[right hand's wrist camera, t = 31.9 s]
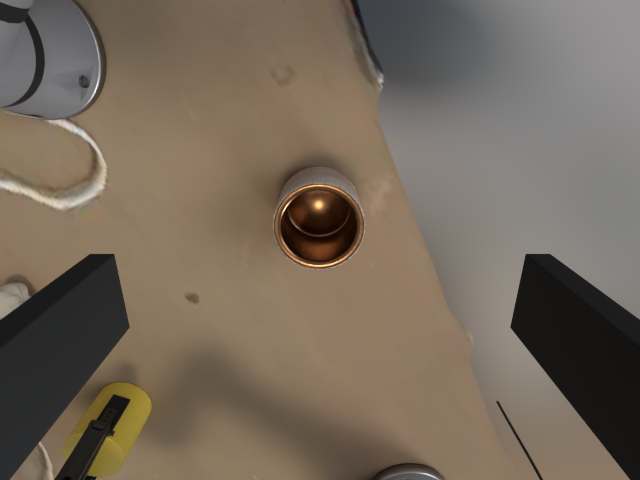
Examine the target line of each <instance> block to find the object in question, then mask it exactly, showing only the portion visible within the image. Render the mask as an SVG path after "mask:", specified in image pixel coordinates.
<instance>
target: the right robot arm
mask: <svg viewBox="0 0 640 480" xmlns="http://www.w3.org/2000/svg"><path fill="white" fill-rule="evenodd" d="M105 76H106V57H105V51H104V46H103V43H102V40H101V37H100V35H99V32H98V30H97V28H96V26H95V24H94V23H93V21H92V19H91V18H90V16H89V15H88V14H87V12H86V11H85V10H84V9H83V7H82V6H81V5H80V4H79V3H78V2H77V1H76V0H0V108H4V109H7V110H9V111H12V112H15V113H10V112H6V113H9V114H13V115H19V116H25V117H31V118H35V119H40V120H57V119H65V118H70V117H73V116H76V115H78V114H80V113H82V112H84V111H85V110H87V109H88V108H89V107H90V106H91V105H92V104H93V103H94V102H95V101H96V99H97V98H98V96H99V94H100V92H101V90H102V88H103V85H104V81H105ZM3 112H4V111H3ZM16 113H18V114H16ZM128 329H129V322H128V318H127V313H126V308H125V303H124V299H123V294H122V289H121V284H120V280H119V275H118V270H117V265H116V261H115V256H114V254H89V255H88V256H87V257H85V258H84V259H83V260H81V261H80V262H79V263H77V264H76V265H74V266H73V267H72V268H70V269H69V270H68V271H66V272H65V273H64V274H62V275H61V276H59V277H58V278H57V279H55V280H54V281H53V282H51V283H50V284H48V285H47V286H46V287H44V288H43V289H42V290H40V291H39V292H38V293H36V294H35V295H33V296H32V297H31V298H29V299H28V300H27V301H25V302H24V303H23V304H21V305H20V306H18V307H17V308H16V309H14V310H13V311H12V312H10V313H9V314H8V315H6V316H5V317H3V318H2V319H1V320H0V480H10V479H11V477H12V476H13V475H14V473H15V472H16V471H17V470H18V468H19V467H20V466H21V465H22V463H23V462H24V461H25V460H26V458H27V457H28V456H29V454H30V453H31V452H32V451H33V449H34V448H35V447H36V446H37V444H38V443H39V442H40V440H41V439H42V438H43V437H44V435H45V434H46V433H47V432H48V430H49V429H50V428H51V427H52V425H53V424H54V423H55V421H56V420H57V419H58V418H59V416H60V415H61V414H62V413H63V411H64V410H65V409H66V407H67V406H68V405H69V404H70V402H71V401H72V400H73V399H74V397H75V396H76V395H77V394H78V392H79V391H80V390H81V388H82V387H83V386H84V385H85V383H86V382H87V381H88V380H89V378H90V377H91V376H92V374H93V373H94V372H95V371H96V369H97V368H98V367H99V366H100V364H101V363H102V362H103V360H104V359H105V358H106V357H107V355H108V354H109V353H110V352H111V350H112V349H113V348H114V347H115V345H116V344H117V343H118V341H119V340H120V339H121V338H122V336H123V335H124V334H125V333H126V331H127V330H128ZM511 329H512V330H513V331H514V333H515V334H516V335H517V336H518V338H519V339H520V340H521V341H522V343H523V344H524V345H525V347H526V348H527V349H528V350H529V352H530V353H531V354H532V355H533V357H534V358H535V359H536V360H537V362H538V363H539V364H540V366H541V367H542V368H543V369H544V371H545V372H546V373H547V374H548V376H549V377H550V378H551V379H552V381H553V382H554V383H555V385H556V386H557V387H558V388H559V390H560V391H561V392H562V394H563V395H564V396H565V397H566V399H567V400H568V401H569V402H570V404H571V405H572V406H573V407H574V409H575V410H576V411H577V413H578V414H579V415H580V416H581V418H582V419H583V420H584V421H585V423H586V424H587V425H588V427H589V428H590V429H591V430H592V432H593V433H594V434H595V435H596V437H597V438H598V439H599V440H600V442H601V443H602V444H603V446H604V447H605V448H606V449H607V451H608V452H609V453H610V454H611V456H612V457H613V458H614V460H615V461H616V462H617V463H618V465H619V466H620V467H621V468H622V470H623V471H624V472H625V473H626V475H627V476H628V477H629V479H630V480H640V320H639V319H638V318H637V317H635V316H634V315H632V314H631V313H630V312H628V311H627V310H626V309H624V308H623V307H622V306H620V305H619V304H617V303H616V302H615V301H613V300H612V299H611V298H609V297H608V296H606V295H605V294H604V293H602V292H601V291H600V290H598V289H597V288H596V287H594V286H593V285H591V284H590V283H589V282H587V281H586V280H585V279H583V278H582V277H581V276H579V275H578V274H576V273H575V272H574V271H572V270H571V269H570V268H568V267H567V266H566V265H564V264H563V263H561V262H560V261H559V260H557V259H556V258H555V257H553V256H552V255H550V254H526V256H525V261H524V265H523V270H522V275H521V280H520V284H519V289H518V294H517V299H516V303H515V308H514V313H513V318H512V322H511Z"/></svg>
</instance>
